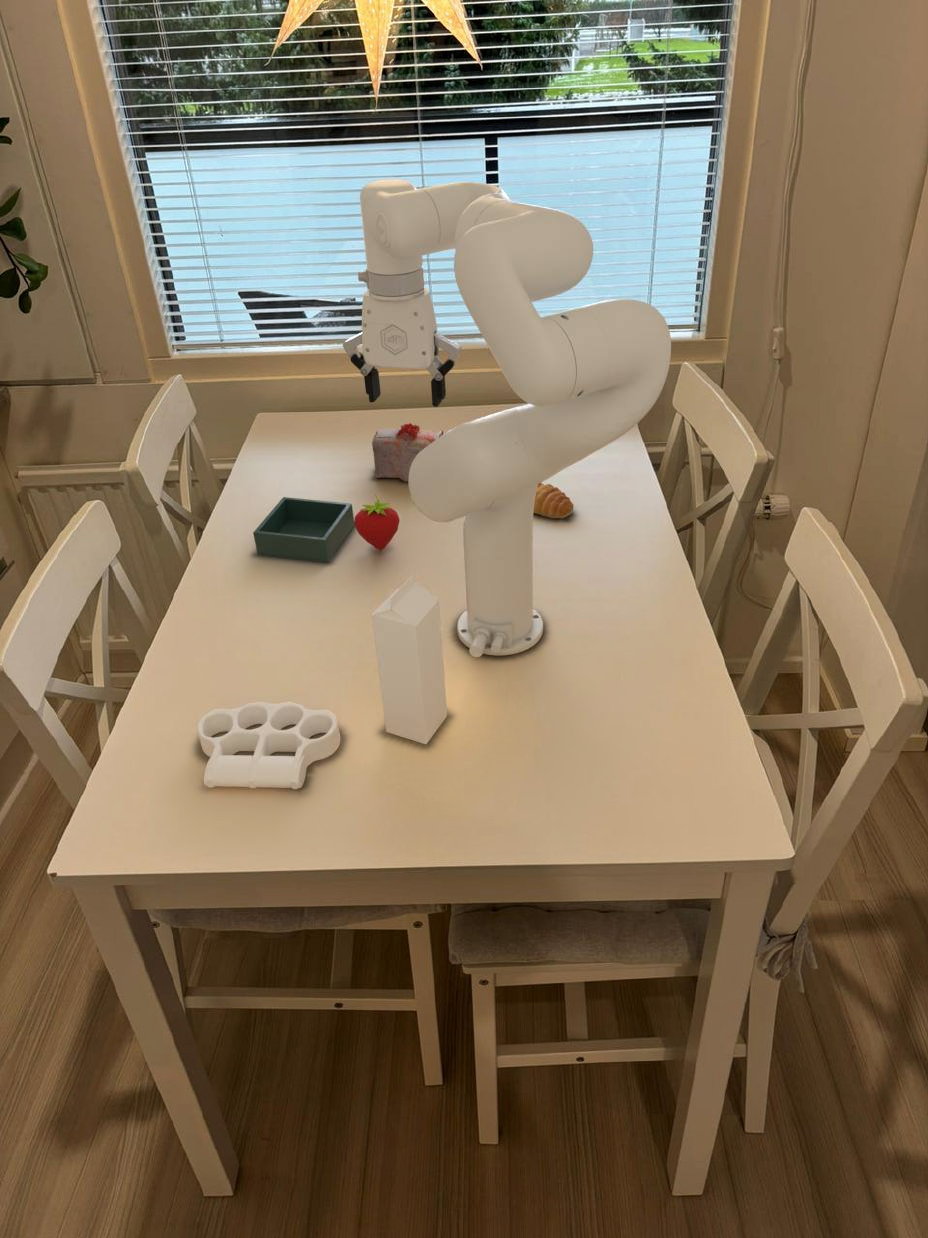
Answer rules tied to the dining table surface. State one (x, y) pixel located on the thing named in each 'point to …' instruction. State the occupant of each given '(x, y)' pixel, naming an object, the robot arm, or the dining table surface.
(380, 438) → the food item
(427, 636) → the milk
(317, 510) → the open box
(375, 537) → the strawberry
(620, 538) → the dining table surface
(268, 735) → the white brass knuckles
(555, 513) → the pastry
